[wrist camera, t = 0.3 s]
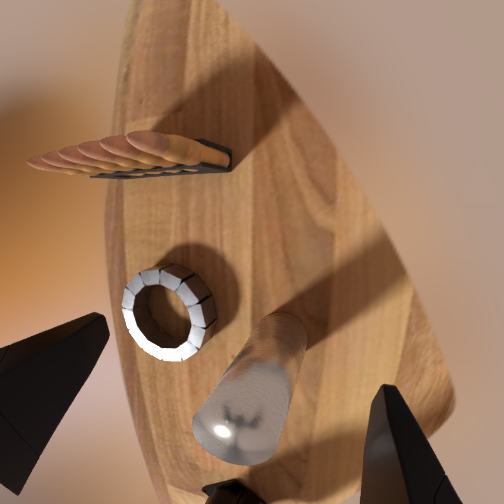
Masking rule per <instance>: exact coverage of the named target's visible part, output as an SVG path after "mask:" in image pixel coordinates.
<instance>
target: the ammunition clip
mask: <svg viewBox="0 0 504 504" xmlns="http://www.w3.org/2000/svg"><path fill="white" fill-rule="evenodd" d="M27 163H28V164H29V165H30V166H32V167H35V168H37V169H41V170H46V171H57V172H65V173H68V174H72V175H90V177H91V178H109V179H135V178H145V177H157V176H170V175H185V174H203V173H225V172H231V171H232V150H230V149H228V148H225V147H223V146H220V145H217V144H215V143H212V142H209V141H207V140H204V139H195V140H191V139H188V138H186V137H183V136H179V135H168V134H163V133H158V132H154V131H134V132H131V133H129V134H127V135H126V136H110V137H106V138H103V139H102V140H100V141H89V142H85V143H82V144H80V145H76V146H70V147H66V148H63V149H61V150H57V151H52V152H48V153H46V154H44V155H39V156H35V157H33V158H30V159H28V160H27Z"/></svg>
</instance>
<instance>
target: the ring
mask: <svg viewBox="0 0 504 504" xmlns="http://www.w3.org/2000/svg"><path fill="white" fill-rule="evenodd" d="M194 274H195V272H193V271H191V270H189V269H186V268H184V267H182V266H180V265H178V264H175V265H174V263H172V264H165V265H158V266H154V267H152V268H149V269H146V270H144V271H141V272H139V273H138V274H137V275H136V276H135V277H134V278H133V279H132V280H131V281H130V282H129V283H128V284H127V285H126V286H127V287H126V288H125V291H124V297H123V303H122V306H123V307H125V308H123V309H122V310H123V314H124V318H125V321H126V325H127V328H132V329H131V330H130V331H129V332H130V333H131V335H132V336H133V337H134V339H135V340H136V341H137V342H138V344H139V345H140V346H141V348H142V347H143V346H144V345H145V346H144V350H145V351H147V352H149V353H150V354H152V355H154V356H155V357H157V358H159V359H162V358H163V360H165V361H182V360H185V359H187V358H188V357H190V356H191V355H193V354H194V353H196V352H197V351H199V349H200V348H201V347H202V346H203V345H204V344H205V343H206V342H207V341H208V340H209V339H210V338H211V336H212V333H213V330H214V327H215V324H216V321H217V319H216V317H217V312H216V308H215V303H214V298H213V295H209V296H207V295H208V294H210V293H211V291H210V290H209V288H208V287H207V286H206V285H205V283H204V282H203V281H202V280H201V278H200V277H199V276H198V274H197V275H196V276H194ZM155 284H161V285H163V286H165V287H167V288H169V289H171V290H173V291H175V292H176V293H177V294H178V296H179V297H180V298H181V299H182V301H183V302H184V303H185V305H186V306H187V307H188V311H189V315H190V319H191V323H192V327H191V331H190V334H189V338H175V337H173V336H171V335H169V334H167V333H165V332H164V331H162V330H161V329H160V328H159V327H158V325H157V324H156V323H155V321H154V320H153V319H152V317H151V314H150V310H149V306H148V298H149V293H150V289H151V287H152V286H153V285H155Z"/></svg>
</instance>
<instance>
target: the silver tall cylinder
mask: <svg viewBox="0 0 504 504" xmlns="http://www.w3.org/2000/svg"><path fill="white" fill-rule="evenodd" d="M307 342H308V334H307V330H306V328H305V326H304V325H303V323H302V322H301V321H300V320H299V319H298V318H296V317H295V316H293V315H290V314H287V313H273V314H270V315H268V316H266V317H264V318H263V319H262V320H261V321H260V323H259V324H258V326H257V327H256V329H255V330H254V331H253V333H252V334H251V336H250V337H249V339H248V340H247V342H246V343H245V345H244V346H243V348H242V349H241V350H240V352H239V353H238V355H237V356H236V358H235V359H234V361H233V362H232V363H231V365H230V366H229V368H228V369H227V371H226V372H225V373H224V375H223V376H222V378H221V379H220V380H219V382H218V383H217V385H216V386H215V387H214V389H213V390H212V392H211V393H210V394H209V396H208V397H207V399H206V400H205V401H204V403H203V404H202V405H201V407H200V408H199V410H198V411H197V412H196V414H195V415H194V417H193V420H192V430H193V433H194V435H195V438H196V439H197V441H198V442H199V443H200V445H201V446H202V447H203V448H204V449H205V450H206V451H208V452H209V453H210V454H212V455H213V456H215V457H217V458H219V459H221V460H223V461H225V462H228V463H232V464H236V465H246V466H248V465H257V464H261V463H263V462H265V461H267V460H269V459H270V458H271V457H272V456H273V455H274V453H275V451H276V448H277V445H278V442H279V439H280V436H281V433H282V430H283V427H284V423H285V420H286V417H287V414H288V410H289V407H290V404H291V400H292V397H293V393H294V390H295V386H296V383H297V379H298V376H299V372H300V368H301V365H302V361H303V357H304V353H305V350H306V346H307Z"/></svg>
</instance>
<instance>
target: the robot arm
mask: <svg viewBox="0 0 504 504" xmlns="http://www.w3.org/2000/svg"><path fill="white" fill-rule="evenodd" d="M109 336H110V333H109V329H108V325H107V322H106V318H105V316H104V315H102V314H99V313H97V312H93V313H90V314H87V315H85V316H82V317H80V318H77V319H75V320H72V321H70V322H67V323H64V324H62V325H59V326H57V327H54V328H52V329H49V330H46V331H44V332H41V333H39V334H36V335H34V336H31V337H28V338H26V339H23V340H21V341H18V342H15V343H13V344H11V345H8V346H5V347H2V348H0V483H1V484H2V485H3V486H5V487H6V488H8V489H9V490H10V491H12V492H13V493H15V494H16V495H17V496H18V495H19V494H20V492H21V491H22V489H23V487H24V485H25V483H26V481H27V479H28V477H29V475H30V474H31V472H32V470H33V468H34V466H35V465H36V463H37V461H38V459H39V457H40V455H41V454H42V452H43V450H44V448H45V447H46V445H47V443H48V442H49V440H50V438H51V436H52V435H53V433H54V431H55V430H56V428H57V426H58V425H59V423H60V421H61V420H62V418H63V416H64V415H65V413H66V412H67V410H68V408H69V407H70V405H71V404H72V402H73V400H74V399H75V397H76V396H77V394H78V392H79V391H80V389H81V388H82V386H83V385H84V383H85V382H86V380H87V379H88V377H89V375H90V374H91V372H92V370H93V368H94V366H95V365H96V363H97V361H98V358H99V357H100V355H101V353H102V351H103V349H104V347H105V345H106V344H107V342H108V340H109ZM202 491H203V492H204V493H205V494H207V495H208V496H209V497H208V499H207V501H206V503H205V504H266V503H265V502H264V501H262V500H261V499H260V498H258V497H257V496H256V495H255V494H253V493H252V492H251V491H249V490H248V489H247V488H246V487H245V486H243V485H242V484H241V483H240V482H238V481H237V480H231V481H227V482H223V483H219V484H214V485H210V486H205V487H203V488H202ZM360 504H463V503H462V501H461V500H460V498H459V497H458V495H457V493H456V491H455V490H454V488H453V486H452V484H451V482H450V480H449V479H448V477H447V475H445V471H444V469H443V467H442V466H441V464H440V462H439V460H438V459H437V456H436V455H435V453H434V451H433V449H432V447H431V446H430V444H429V442H428V440H427V438H426V437H425V435H424V433H423V431H422V430H421V428H420V426H419V424H418V423H417V421H416V419H415V417H414V416H413V414H412V412H411V411H410V409H409V407H408V405H407V404H406V402H405V400H404V399H403V397H402V395H401V394H400V392H399V390H398V389H397V387H396V386H395V385H388V384H383V385H381V387H380V388H379V390H378V392H377V394H376V396H375V397H374V399H373V401H372V404H371V409H370V416H369V423H368V430H367V436H366V442H365V448H364V458H363V473H362V485H361V496H360Z"/></svg>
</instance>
